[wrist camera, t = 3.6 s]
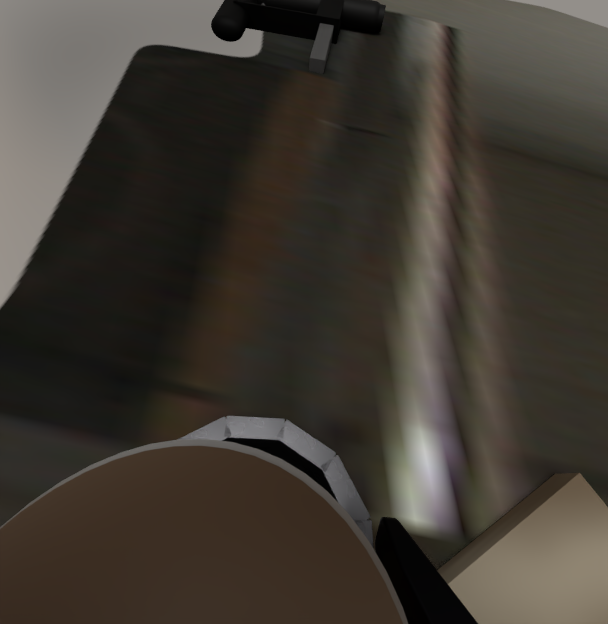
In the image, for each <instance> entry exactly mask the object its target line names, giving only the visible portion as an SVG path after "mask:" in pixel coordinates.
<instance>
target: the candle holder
mask: <svg viewBox="0 0 608 624" xmlns="http://www.w3.org/2000/svg"><path fill="white" fill-rule="evenodd" d="M184 439H210V440H219V441H227V442H234V443H238V444H241V445H245V446H249V447H253V448H256V449H259V450H261V451H264V452H266V453H268V454H271V455H273V456H275V457H278V458H280V459H282V460H284V461H286V462H287V463H289V464H291V465H292V466H294V467H296V468H297V469H299V470H300V471H302V472H304V473H305V474H307V475H308V476H309V477H310V478H312V479H313V480H314V481H315V482H316V483H318V484H319V485H320V486H321V487H323V488H324V489H325V490H326V491H328V492H329V494H330V495H331V496H332V497H333V498H334V499H335V500H336V501H337V502H338V503H339V504H340V505H341V506H342V507H343V508H344V509H345V510H346V511H347V513H348V514H349V515H350V516H351V518H352V519H353V520H354V522H355V523H356V524H357V526H358V527H359V528H360V530H361V531H362V532H363V534H364V535H365V536H366V538H367V539H368V540H369V542H370V544H371V546H372V547H373V536H372V520H369V519H368V518H370V515H369V513H368V511H367V509H366V507H365V505H364V504H363V502H362V500H361V498H360V496H359V494H358V492H357V490H356V488H355V486H354V485H353V483H352V481H351V479H350V477H349V475H348V473H347V471H346V469H345V467H344V466H343V464H342V462H341V460H340V458H339V456H338V455H337V456H335V454H336V453H335V452H334V451H333V450H331V449H330V448H328V447H327V446H325V445H324V444H322V443H321V442H319V441H318V440H316V439H315V438H313V437H312V436H310V435H309V434H307V433H306V432H304V431H303V430H301V429H300V428H299V427H297V426H296V425H294V424H293V423H291V422H290V421H288V420H286V422H285V423H284V419H278V418H259V417H240V416H227V419H226V418H225V417H222V418H220V419H218V420H216V421H214V422H212V423H210V424H208V425H206V426H204V427H202V428H200V429H198V430H196V431H194V432H192V433H190V434H188V435H186V436H184V437H182V438H180V439H178V440H184ZM334 456H335V457H334Z"/></svg>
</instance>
